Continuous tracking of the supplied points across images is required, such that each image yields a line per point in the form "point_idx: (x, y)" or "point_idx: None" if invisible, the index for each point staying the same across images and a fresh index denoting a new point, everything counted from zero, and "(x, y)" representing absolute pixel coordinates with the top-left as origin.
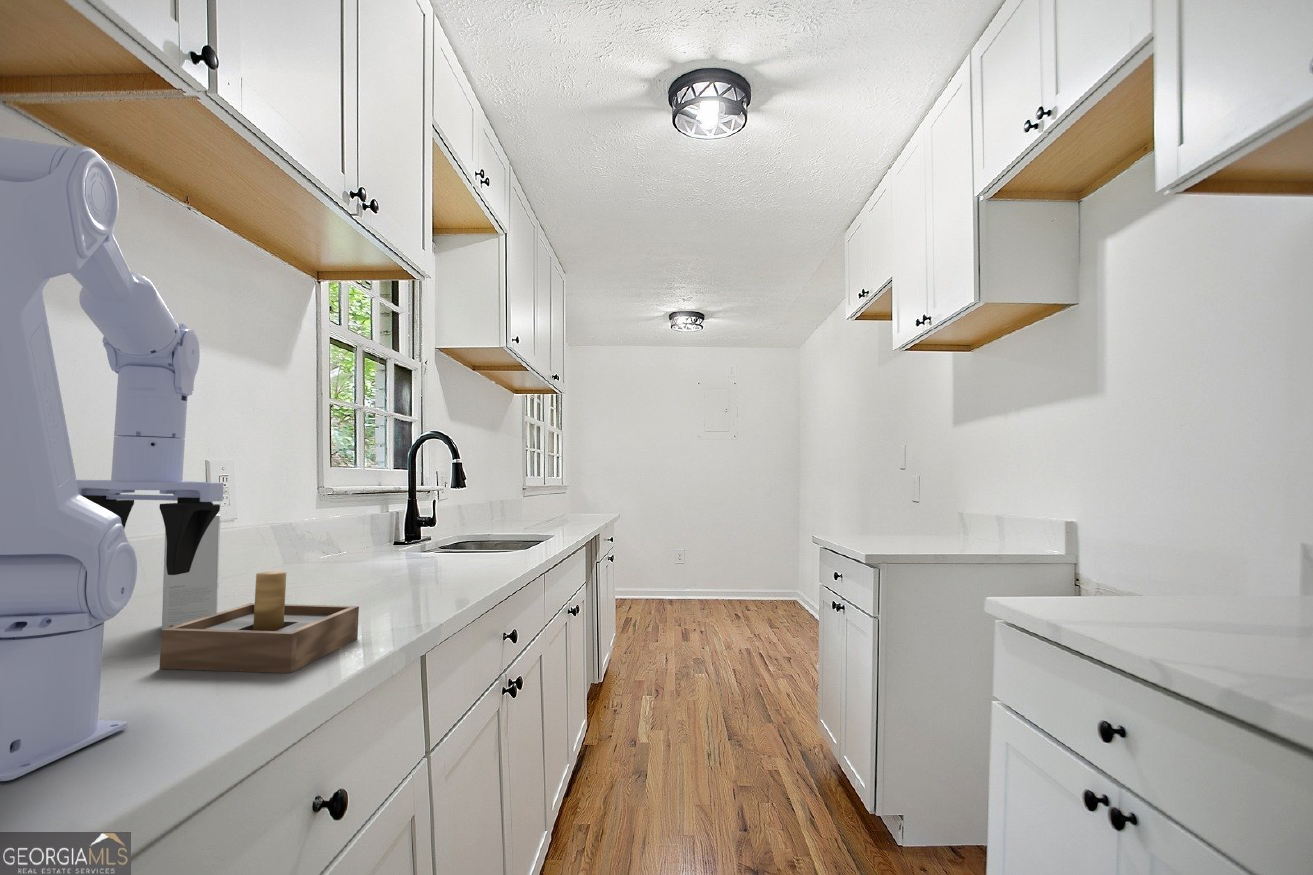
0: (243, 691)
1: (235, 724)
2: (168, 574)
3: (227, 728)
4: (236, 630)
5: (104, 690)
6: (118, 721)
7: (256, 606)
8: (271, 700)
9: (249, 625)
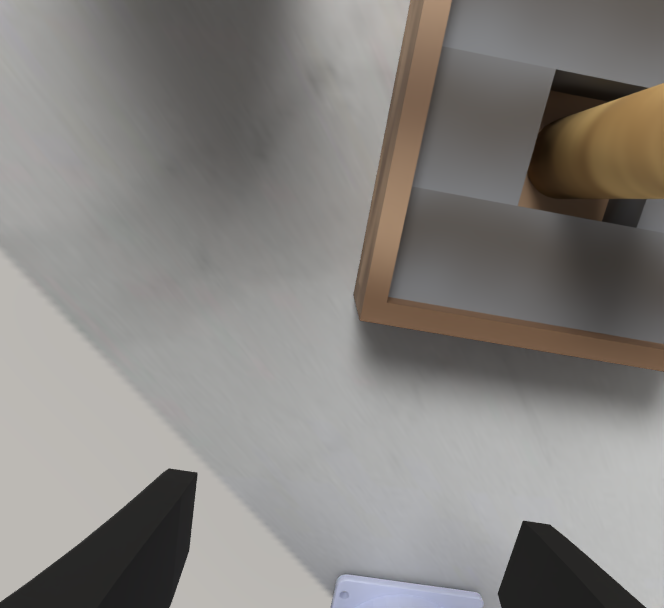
0: (588, 448)
1: (623, 583)
2: (502, 597)
3: None
4: (572, 337)
5: (330, 425)
6: (469, 600)
7: (613, 186)
8: (650, 494)
9: (534, 141)
